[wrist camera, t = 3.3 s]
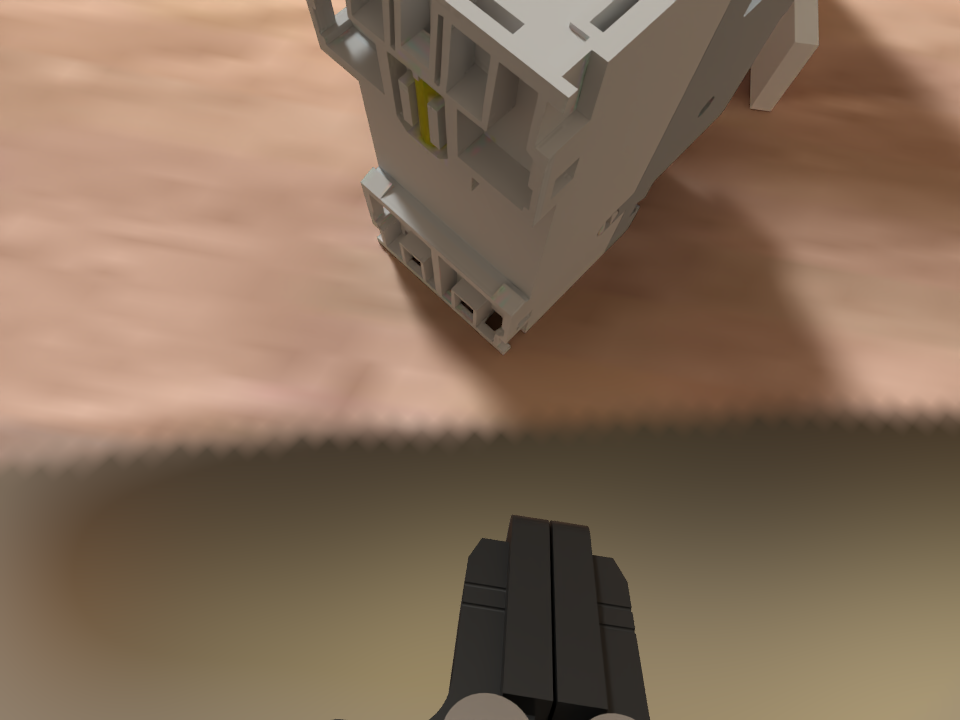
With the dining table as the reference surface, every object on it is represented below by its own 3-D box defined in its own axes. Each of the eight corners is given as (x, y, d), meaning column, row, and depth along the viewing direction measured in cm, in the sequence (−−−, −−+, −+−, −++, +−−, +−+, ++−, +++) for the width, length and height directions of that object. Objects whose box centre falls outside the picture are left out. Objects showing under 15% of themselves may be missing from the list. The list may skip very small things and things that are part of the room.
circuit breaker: (710, 145, 28) (977, -273, 13) (503, 355, 25) (558, 107, 10) (589, 53, 29) (713, -420, 15) (378, 241, 26) (269, -122, 11)
